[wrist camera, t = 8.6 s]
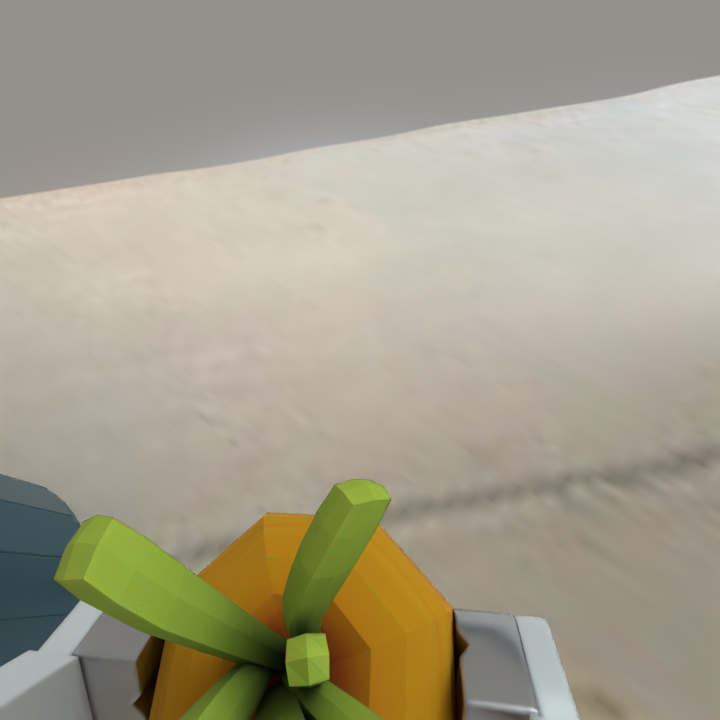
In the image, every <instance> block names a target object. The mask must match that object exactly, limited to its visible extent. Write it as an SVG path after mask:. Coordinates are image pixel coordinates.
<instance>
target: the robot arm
mask: <svg viewBox="0 0 720 720" xmlns="http://www.w3.org/2000/svg"><path fill="white" fill-rule="evenodd" d="M452 613H453V643H454V673H455V703H456V720H580V718H579V715H578V712H577V709H576V706H575V703H574V700H573V697H572V694H571V691H570V688H569V685H568V682H567V679H566V676H565V673H564V670H563V667H562V664H561V661H560V658H559V655H558V652H557V649H556V646H555V643H554V640H553V637H552V633H551V630H550V627H549V624H548V623H547V621H546V620H545V619H544V618H542V617H532V616H522V615H511V614H504V613H494V612H484V611H474V610H464V609H453V610H452ZM164 643H165V640H164V639H161V638H158V637H155V636H152V635H149V634H146V633H143V632H140V631H138V630H136V629H134V628H132V627H130V626H128V625H126V624H124V623H122V622H120V621H119V620H117V619H115V618H113V617H111V616H109V615H107V614H105V613H103V612H101V611H100V610H98V609H96V608H94V607H92V606H90V605H88V604H86V603H84V602H83V601H81V600H80V601H79V603H78V604H77V605H76V606H75V607H74V608H73V610H72V611H71V612H70V613H69V614H68V616H67V617H66V618H65V619H64V620H63V622H62V623H61V624H60V625H59V626H58V627H57V629H56V630H55V631H54V632H53V633H52V635H51V636H50V637H49V638H48V639H47V640H46V642H45V643H44V644H43V645H42V646H41V648H40V649H39V650H38V651H32V650H28V651H27V652H25V653H23V654H22V655H20V656H18V657H16V658H15V659H13V660H11V661H10V662H8V663H6V664H4V665H3V666H1V667H0V720H149V716H150V712H151V707H152V702H153V697H154V692H155V687H156V682H157V677H158V673H159V668H160V663H161V658H162V653H163V648H164Z"/></svg>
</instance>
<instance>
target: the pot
mask: <svg viewBox="0 0 720 720" xmlns="http://www.w3.org/2000/svg"><path fill="white" fill-rule="evenodd" d="M79 528H80V524H79V523H78V521H77V519H76V517H75V515H74V514H73V512H72V511H71V510H70V508H69V507H68V506H67V505H66V503H65V502H63V501H62V500H61V499H60V498H59V497H58V496H57V495H55V494H54V493H52V492H50V491H49V490H48V489H47V488H45V487H42V486H39V485H36V484H32V483H29V482H26V481H22V480H19V479H15V478H12V477H9V476H5V475H2V474H0V667H1V666H3V665H4V664H6V663H8V662H10V661H11V660H13V659H15V658H16V657H18V656H20V655H22V654H23V653H25V652H27V651H28V650H32V651H38V650H39V649H40V648H41V646H42V645H43V644H44V643H45V642H46V640H47V639H48V638H49V637H50V636H51V635H52V633H53V632H54V631H55V630H56V629H57V627H58V626H59V625H60V624H61V623H62V622H63V620H64V619H65V618H66V617H67V616H68V614H69V613H70V612H71V611H72V610H73V608H74V607H75V606H76V605H77V604H78V603H79V601H80V600H79V599H78V598H77V597H75V596H74V595H73V594H72V593H70V592H69V591H68V590H66V589H65V588H64V587H63V586H61V585H60V584H59V583H58V582H56V581H55V580H54V577H55V574H56V571H57V569H58V566H59V563H60V561H61V558H62V555H63V553H64V550H65V547H66V546H67V545H68V543H69V542H70V540H71V539H72V538H73V536H74V535H75V533H76V532H77V531H78V529H79Z"/></svg>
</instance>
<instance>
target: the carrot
mask: <svg viewBox="0 0 720 720" xmlns="http://www.w3.org/2000/svg"><path fill="white" fill-rule="evenodd" d="M390 501H391V498H390V496H389V494H388V493H387V491H386V489H385V488H384V486H382V485H380V484H378V483H376V482H374V481H372V480H362V479H352V480H348V481H345V482H342V483H338V484H335V485H334V486H333V488H332V489H331V491H330V493H329V494H328V496H327V497H326V499H325V500H324V502H323V503H322V505H321V506H320V508H319V509H318V511H317V513H316V515H307V514H285V513H267V514H265V515H264V516H263V517H262V518H261V519H260V520H259V521H258V522H256V523H255V524H254V525H253V526H252V527H251V528H250V529H249V530H247V531H246V532H245V533H244V534H243V535H242V536H241V537H240V538H238V539H237V540H236V541H235V542H234V543H233V544H232V545H231V546H229V547H228V548H227V549H226V550H225V551H224V552H223V553H222V554H220V555H219V556H218V557H217V558H216V559H215V560H214V561H213V562H211V563H210V564H209V565H208V566H207V567H206V568H205V569H204V570H202V571H201V572H200V573H199V574H198V575H196V574H194V573H193V572H191V571H190V570H189V569H187V568H186V567H185V566H183V565H182V564H181V563H179V562H178V561H177V560H175V559H174V558H173V557H171V556H170V555H169V554H167V553H166V552H165V551H163V550H162V549H161V548H159V547H158V546H157V545H155V544H154V543H153V542H151V541H150V540H149V539H147V538H146V537H145V536H143V535H141V534H140V533H138V532H136V531H135V530H133V529H131V528H130V527H128V526H127V525H125V524H123V523H122V522H120V521H118V520H117V519H115V518H113V517H107V516H101V515H96V516H94V517H92V518H90V519H88V520H86V521H84V522H83V524H82V525H81V526H80V528H79V529H78V531H77V532H76V533H75V535H74V536H73V538H72V539H71V540H70V542H69V543H68V545H67V546H66V547H65V550H64V553H63V555H62V558H61V561H60V563H59V566H58V569H57V571H56V574H55V577H54V580H55V581H56V582H58V583H59V584H60V585H61V586H63V587H64V588H65V589H66V590H68V591H69V592H70V593H72V594H73V595H74V596H75V597H77V598H78V599H79V600H81V601H83V602H84V603H86V604H88V605H90V606H92V607H94V608H96V609H98V610H100V611H101V612H103V613H105V614H107V615H109V616H111V617H113V618H115V619H117V620H119V621H120V622H122V623H124V624H126V625H128V626H130V627H132V628H134V629H136V630H138V631H140V632H143V633H146V634H149V635H152V636H155V637H158V638H161V639H164V640H165V643H164V648H163V653H162V658H161V663H160V668H159V673H158V677H157V682H156V687H155V692H154V697H153V702H152V707H151V712H150V716H149V720H456V703H455V673H454V643H453V613H452V606H451V605H450V604H449V603H448V602H447V601H446V599H445V598H444V597H443V596H442V595H441V594H440V593H439V591H438V590H437V589H436V588H435V587H434V586H433V585H432V584H431V582H430V581H429V580H428V579H427V578H426V577H425V576H424V574H423V573H422V572H421V571H420V570H419V569H418V568H417V566H416V565H415V564H414V563H413V562H412V561H411V560H410V558H409V557H408V556H407V555H406V554H405V553H404V552H403V550H402V549H401V548H400V547H399V546H398V545H397V544H396V543H395V541H394V540H393V539H392V538H391V537H390V536H389V535H388V533H387V532H386V531H385V530H384V529H383V528H382V527H381V525H380V524H379V523H380V521H381V519H382V517H383V515H384V513H385V511H386V509H387V507H388V505H389V503H390Z"/></svg>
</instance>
